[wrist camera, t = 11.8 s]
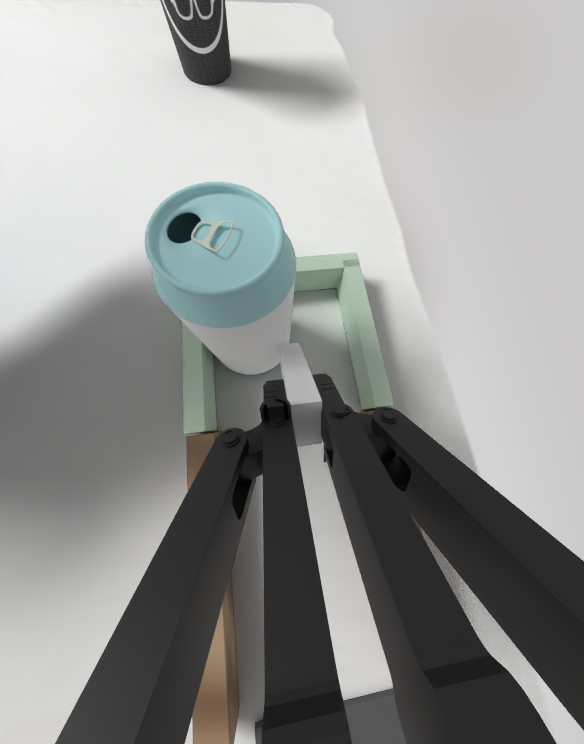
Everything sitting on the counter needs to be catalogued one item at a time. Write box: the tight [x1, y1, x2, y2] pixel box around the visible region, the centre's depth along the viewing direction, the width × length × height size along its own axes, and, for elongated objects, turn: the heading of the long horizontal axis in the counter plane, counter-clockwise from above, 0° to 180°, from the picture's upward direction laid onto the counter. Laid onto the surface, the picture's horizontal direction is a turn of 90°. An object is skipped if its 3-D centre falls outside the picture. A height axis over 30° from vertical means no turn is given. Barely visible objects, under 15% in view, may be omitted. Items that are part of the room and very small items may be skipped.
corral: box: [182, 252, 394, 434], centre depth 19 cm, size 14×16×3 cm
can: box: [145, 182, 296, 375], centre depth 15 cm, size 7×7×12 cm
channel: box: [186, 410, 422, 744], centre depth 16 cm, size 18×16×2 cm
